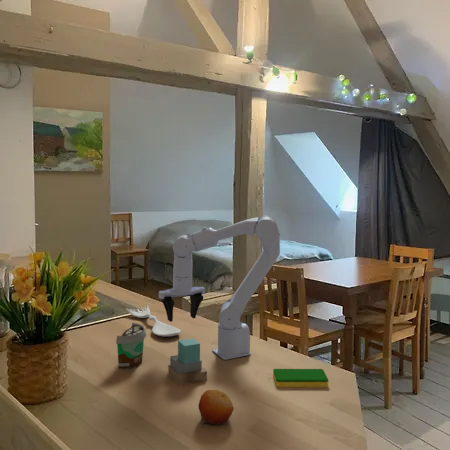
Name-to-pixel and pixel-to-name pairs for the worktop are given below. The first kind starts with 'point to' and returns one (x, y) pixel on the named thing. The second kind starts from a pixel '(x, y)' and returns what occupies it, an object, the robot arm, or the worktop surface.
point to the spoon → (158, 327)
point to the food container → (131, 347)
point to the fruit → (215, 407)
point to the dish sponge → (300, 378)
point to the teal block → (188, 351)
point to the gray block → (184, 365)
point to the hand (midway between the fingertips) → (181, 319)
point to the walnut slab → (187, 376)
